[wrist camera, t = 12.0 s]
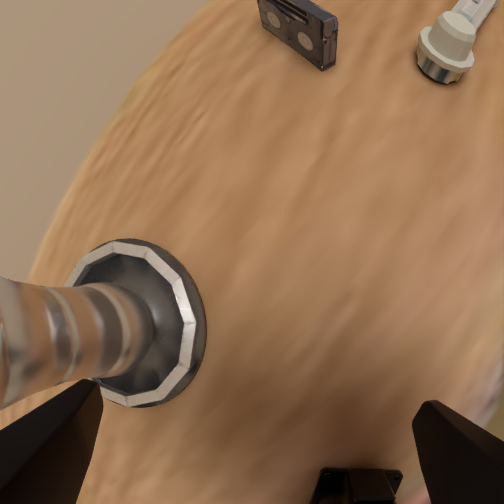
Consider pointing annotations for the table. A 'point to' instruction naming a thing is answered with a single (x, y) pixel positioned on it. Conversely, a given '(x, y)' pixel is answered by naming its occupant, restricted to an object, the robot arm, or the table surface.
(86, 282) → the pad
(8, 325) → the plastic bottle
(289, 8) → the mini dv tape
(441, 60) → the white handheld device
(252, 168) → the table surface
